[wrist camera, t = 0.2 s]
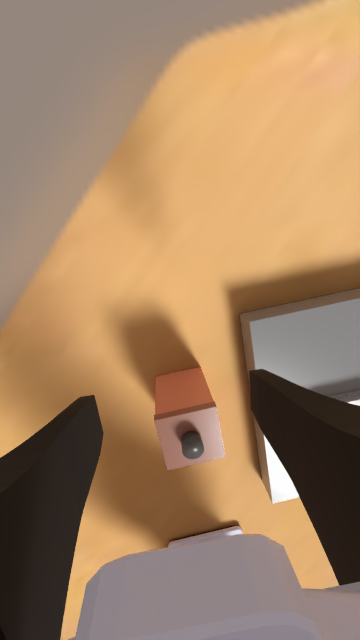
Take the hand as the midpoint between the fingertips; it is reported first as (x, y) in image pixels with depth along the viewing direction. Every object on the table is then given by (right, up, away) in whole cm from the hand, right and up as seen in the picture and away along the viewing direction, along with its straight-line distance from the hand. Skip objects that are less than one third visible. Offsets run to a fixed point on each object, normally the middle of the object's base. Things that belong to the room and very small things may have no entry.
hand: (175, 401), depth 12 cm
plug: (0, -3, +11) cm, 11 cm away
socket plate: (+13, -3, +12) cm, 18 cm away
